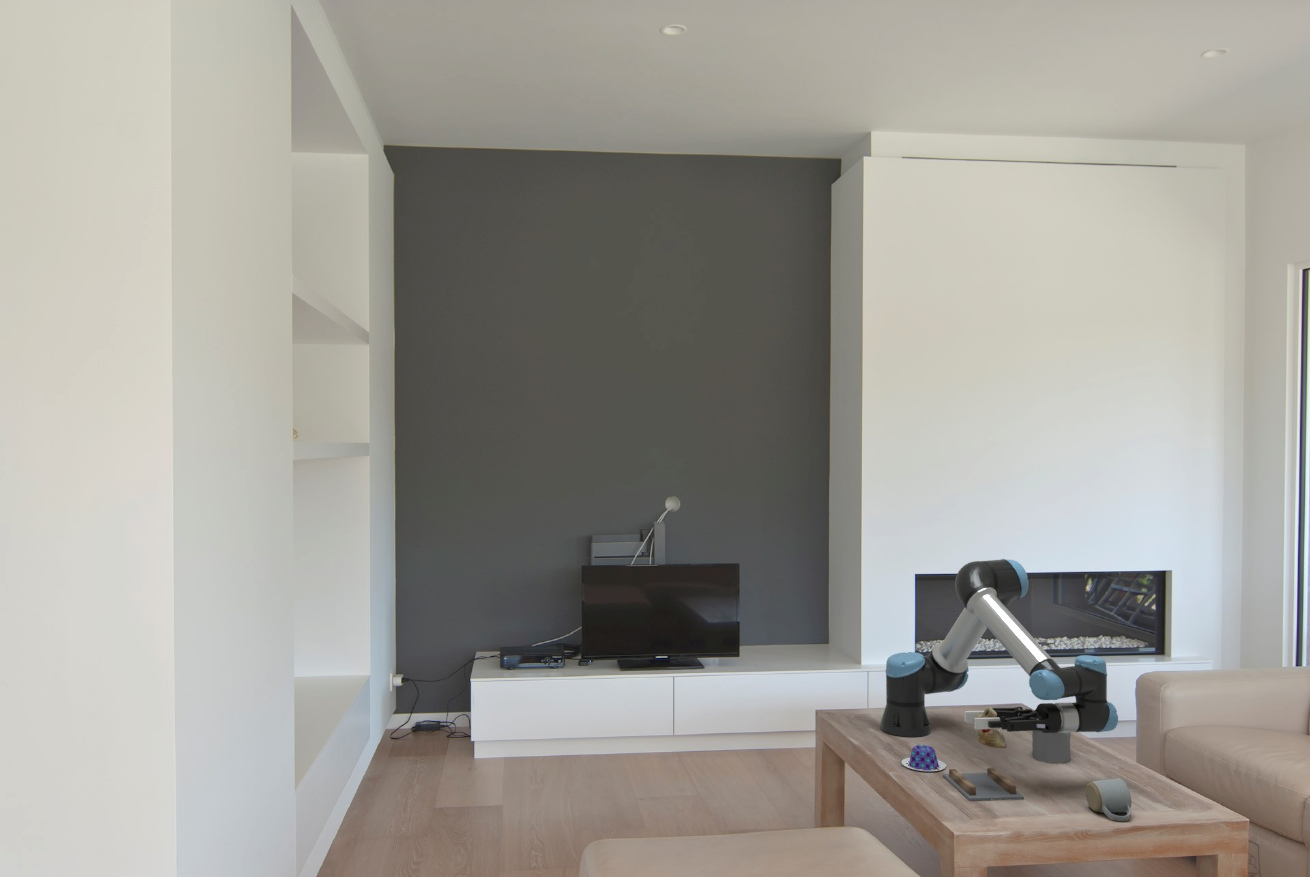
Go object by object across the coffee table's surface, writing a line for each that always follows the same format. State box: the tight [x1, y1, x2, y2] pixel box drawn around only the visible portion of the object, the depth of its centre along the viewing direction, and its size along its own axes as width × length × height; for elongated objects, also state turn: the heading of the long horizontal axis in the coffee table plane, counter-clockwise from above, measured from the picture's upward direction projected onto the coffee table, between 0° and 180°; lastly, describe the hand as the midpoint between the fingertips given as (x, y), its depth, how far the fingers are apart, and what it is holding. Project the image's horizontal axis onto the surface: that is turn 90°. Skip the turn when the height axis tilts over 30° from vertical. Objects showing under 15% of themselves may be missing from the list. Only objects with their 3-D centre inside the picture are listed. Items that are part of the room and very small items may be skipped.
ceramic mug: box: [1084, 777, 1132, 822], centre depth 228 cm, size 11×8×8 cm
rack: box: [948, 767, 1017, 795], centre depth 246 cm, size 14×12×2 cm
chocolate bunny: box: [977, 706, 1007, 749], centre depth 245 cm, size 6×8×10 cm
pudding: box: [901, 744, 947, 772], centre depth 264 cm, size 12×12×5 cm
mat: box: [942, 772, 1025, 802], centre depth 246 cm, size 18×14×1 cm
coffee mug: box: [1031, 731, 1072, 764], centre depth 271 cm, size 13×10×10 cm
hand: (970, 720), depth 246 cm, fingers closed on chocolate bunny, 6 cm apart
